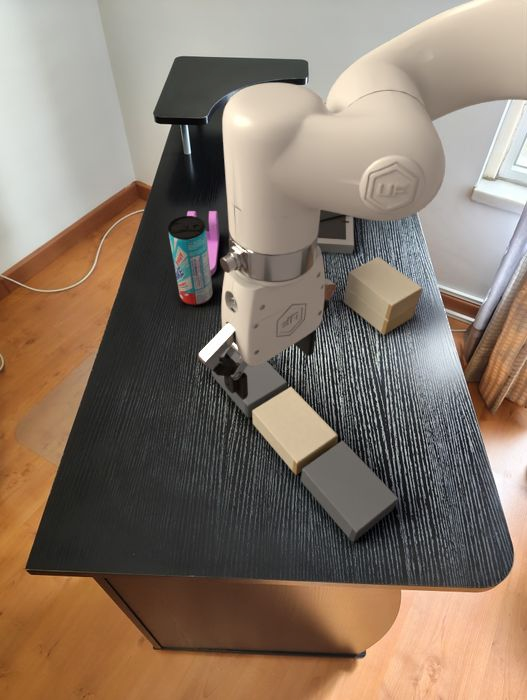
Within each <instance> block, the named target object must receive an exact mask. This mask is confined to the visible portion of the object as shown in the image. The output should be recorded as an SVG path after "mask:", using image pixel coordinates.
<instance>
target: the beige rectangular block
mask: <svg viewBox="0 0 527 700" xmlns="http://www.w3.org/2000/svg"><path fill="white" fill-rule="evenodd" d="M343 303H344V304H345V305H347V307H349V308H350V309H351V310H352V311H354V312H355V313H356V314H357V315H359V317H361V318H362V319H364V320H365V321H366V322H367V323H369V324H370V325H371V326H372V327H373V328H374V329H375V330H377V331H378V332H379V333H380V334H382V335H383V336H385V335H387V334H388V333H390V332H392V331H393V330H395V329H396V328H398V327H399V326H401V325H403V324H404V323H406V322H407V321H409V320H410V319H412V318H414V315H415V312H416V309H417V307H418V303H416V304H415V305H413V306H411V307H410V308H408V309H406V310H405V311H403V312H401V313H400V314H398V315H396V316H395V317H393V318H391V319H390V320H387V319H385V318H384V317H383V316H382V315H380V314H379V313H378V312H377V311H375V310H374V309H373V308H372V307H370V306H369V305H368V304H367V303H365V302H364V301H363V300H361V299H360V298H359V297H358V296H356V295H355V294H354V293H353V292H351V291H350V290H349V289H348V288H345V292H344V298H343Z"/></svg>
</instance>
